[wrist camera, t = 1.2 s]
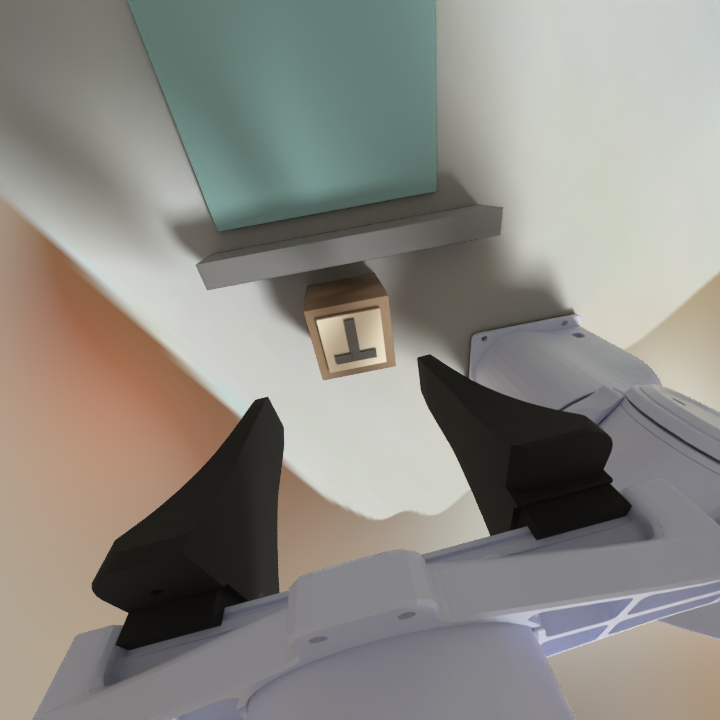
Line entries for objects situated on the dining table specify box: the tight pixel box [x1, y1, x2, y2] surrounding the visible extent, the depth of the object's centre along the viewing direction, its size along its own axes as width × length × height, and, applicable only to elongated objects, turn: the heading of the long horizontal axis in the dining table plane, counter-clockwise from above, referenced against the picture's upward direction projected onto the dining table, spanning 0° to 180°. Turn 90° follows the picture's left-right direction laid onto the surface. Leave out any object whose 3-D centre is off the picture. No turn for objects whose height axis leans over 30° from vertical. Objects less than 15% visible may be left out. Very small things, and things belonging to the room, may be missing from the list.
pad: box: [127, 0, 437, 232], centre depth 15 cm, size 14×12×1 cm
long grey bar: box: [196, 204, 503, 290], centre depth 18 cm, size 18×2×3 cm, turn 99°
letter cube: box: [304, 273, 396, 380], centre depth 20 cm, size 5×5×5 cm
